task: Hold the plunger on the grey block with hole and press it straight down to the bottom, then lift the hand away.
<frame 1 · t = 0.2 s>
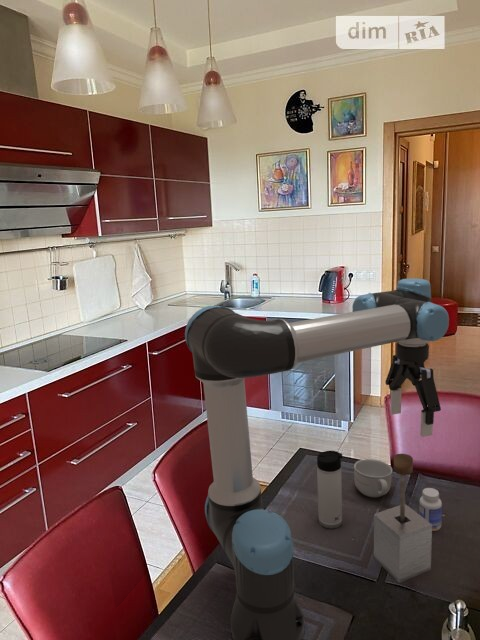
hand: (410, 424, 124), 28 cm above the table, fingers open, 13 cm apart
grey block with hole: (401, 564, 116), on the table
plunger: (402, 494, 112), point 18 cm above the table, slide at 0.0 cm
travel mug: (331, 522, 133), on the table
pill bottle: (430, 525, 129), on the table
teacup: (374, 495, 144), on the table
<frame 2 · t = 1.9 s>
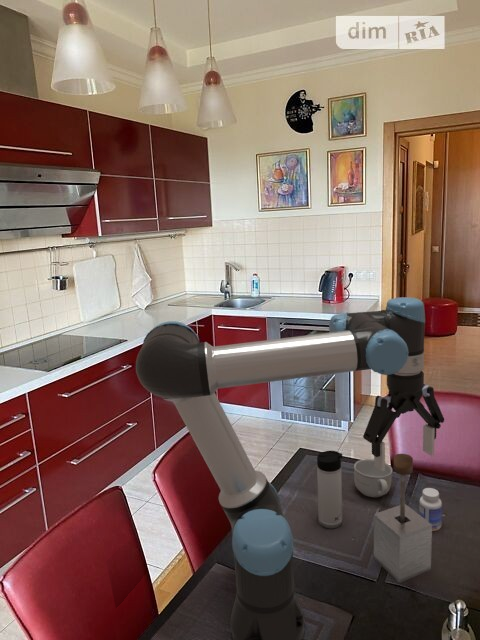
hand: (404, 460, 110), 27 cm above the table, fingers open, 13 cm apart
nothing on the table moved.
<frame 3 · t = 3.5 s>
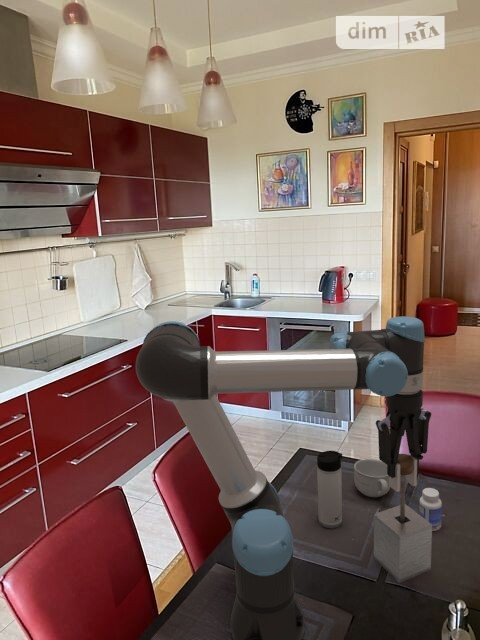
hand: (402, 485, 111), 21 cm above the table, fingers closed on plunger, 4 cm apart
plunger: (402, 494, 112), point 18 cm above the table, slide at 0.0 cm, touching gripper
everything else where it was.
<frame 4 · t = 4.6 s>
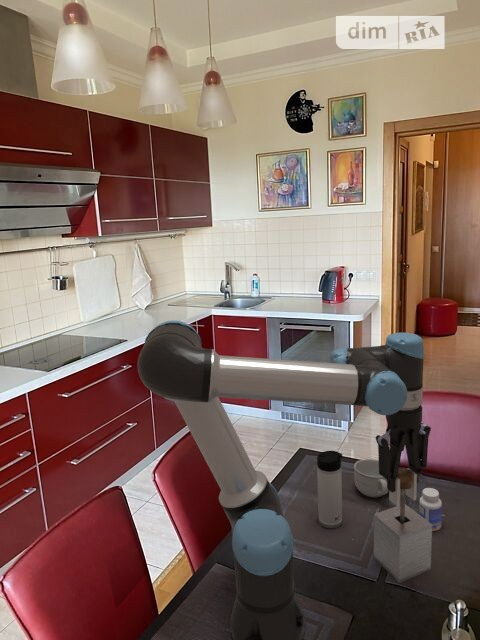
hand: (402, 499, 112), 17 cm above the table, fingers closed on plunger, 4 cm apart
plunger: (402, 508, 112), point 15 cm above the table, slide at -3.6 cm, touching gripper
everything else where it was.
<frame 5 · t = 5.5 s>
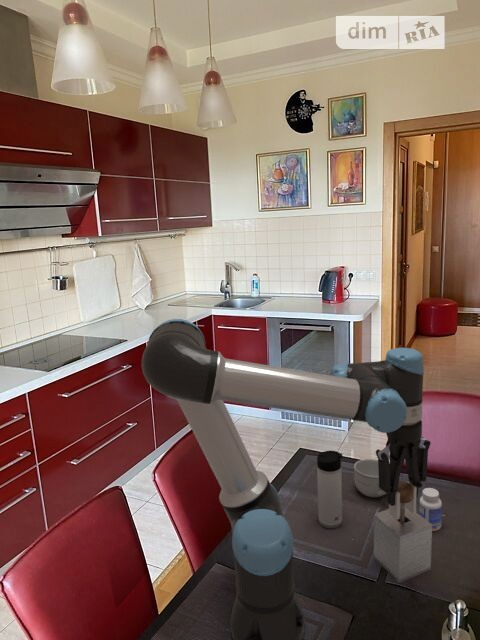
hand: (402, 512, 113), 14 cm above the table, fingers closed on plunger, 4 cm apart
plunger: (402, 521, 113), point 11 cm above the table, slide at -7.0 cm, touching gripper
everything else where it was.
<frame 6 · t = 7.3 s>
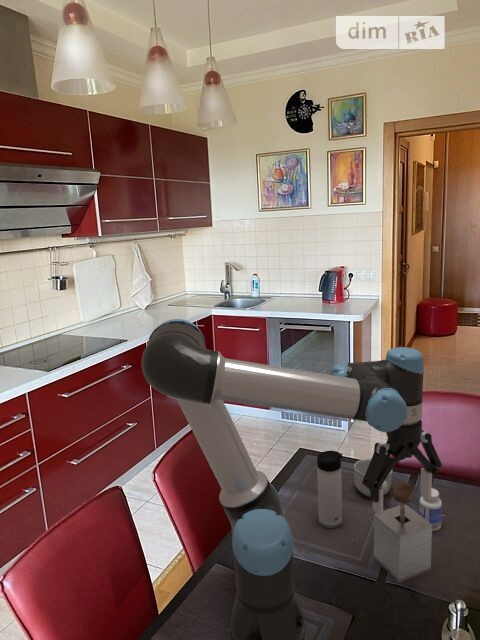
hand: (402, 504, 112), 16 cm above the table, fingers open, 13 cm apart
plunger: (402, 521, 113), point 11 cm above the table, slide at -7.0 cm
everything else where it was.
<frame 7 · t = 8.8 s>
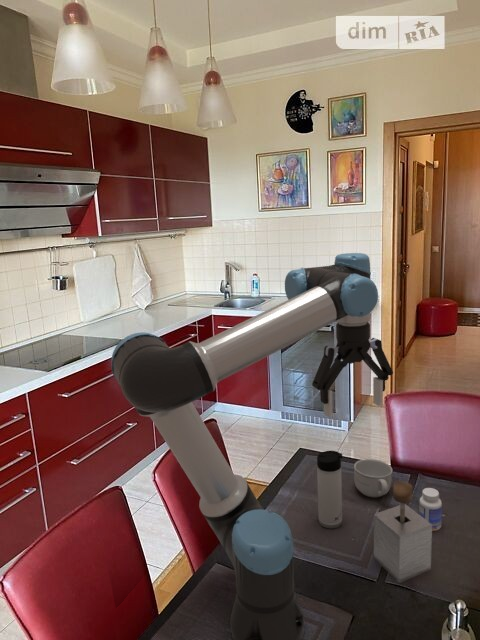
hand: (353, 410, 116), 36 cm above the table, fingers open, 13 cm apart
nothing on the table moved.
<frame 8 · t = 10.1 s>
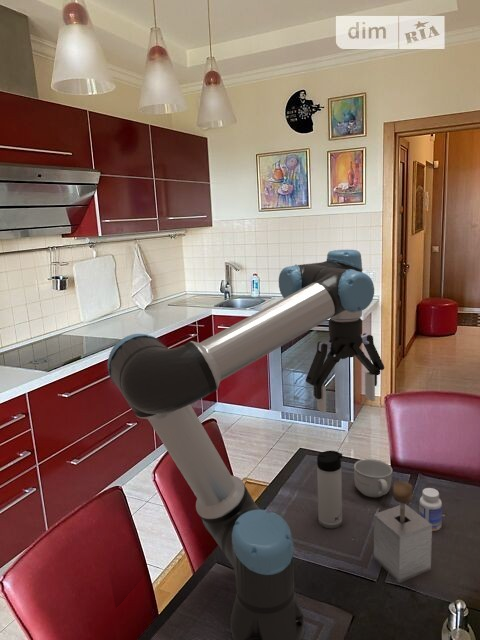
hand: (346, 405, 117), 37 cm above the table, fingers open, 13 cm apart
nothing on the table moved.
at the end: plunger slide at -7.0 cm; the gripper is holding nothing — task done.
